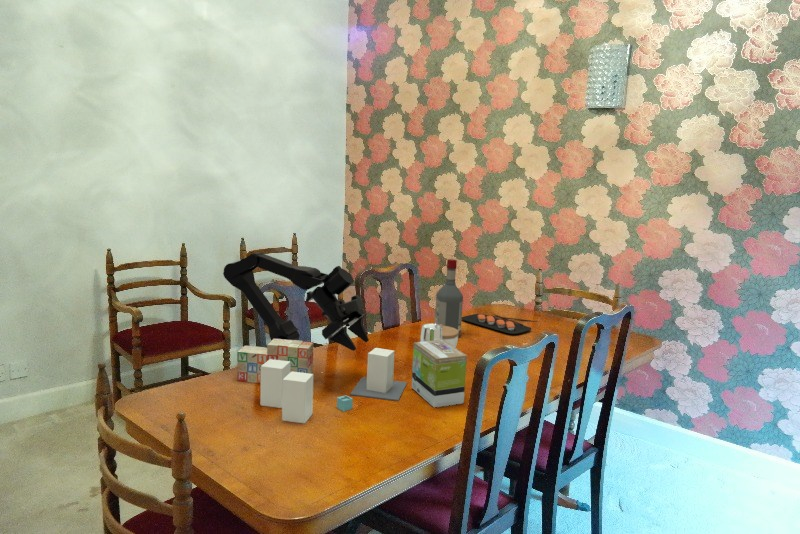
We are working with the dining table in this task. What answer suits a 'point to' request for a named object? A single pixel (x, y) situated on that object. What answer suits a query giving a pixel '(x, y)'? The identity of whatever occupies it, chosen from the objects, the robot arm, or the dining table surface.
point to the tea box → (439, 373)
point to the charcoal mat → (391, 394)
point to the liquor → (449, 300)
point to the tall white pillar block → (297, 397)
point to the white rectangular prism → (380, 370)
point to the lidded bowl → (450, 335)
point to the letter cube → (344, 403)
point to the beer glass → (431, 332)
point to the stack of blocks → (274, 358)
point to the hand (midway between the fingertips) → (361, 345)
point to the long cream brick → (273, 382)
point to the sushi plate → (498, 323)
